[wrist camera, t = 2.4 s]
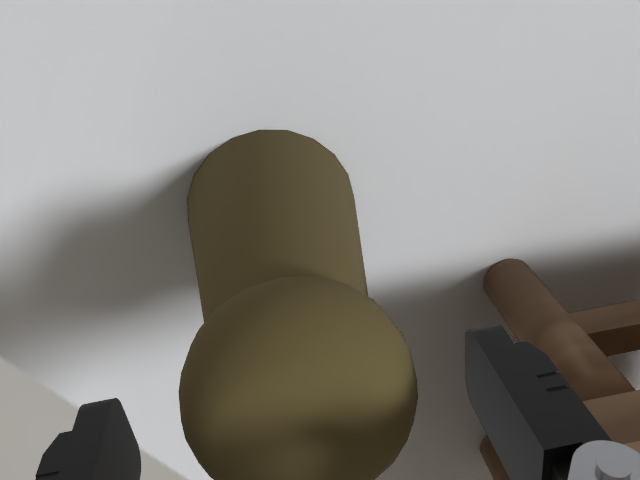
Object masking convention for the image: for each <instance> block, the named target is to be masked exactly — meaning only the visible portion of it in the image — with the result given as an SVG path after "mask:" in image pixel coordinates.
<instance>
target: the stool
mask: <svg viewBox="0 0 640 480" xmlns="http://www.w3.org/2000/svg"><path fill="white" fill-rule="evenodd" d="M484 290H485V292H486V293H487V295H488V296H489V298H490V299H491V301H492V302H493V304H494V305H495V306H496V308H497V309H498V311H499V312H500V314H501V315H502V317H503V318H504V319H505V321H506V322H507V324H508V325H509V327H510V328H511V330H512V331H513V332H514V334H515V335H516V337H517V338H518V340H519V341H520V342H525V341H527V342H529V343H530V344H532V345H533V346H535V347H536V348H538V349H539V350H541V351H542V352H544V353H545V354H547V356H548V357H549V358H550V360H551V361H552V362H553V364H554V365H555V366H556V368H557V369H558V370H559V373H560V374H562V375H563V377H564V378H565V379H566V381H567V382H568V383H569V386H570V388H572V389H573V390H574V391H575V393H576V394H577V395H578V397H579V398H580V399H581V401H582V402H583V403H584V404H585V406H586V407H587V408H588V410H589V411H590V412H591V414H592V415H593V416H594V418H595V419H596V420H597V422H598V423H599V424H600V426H601V427H602V428H603V430H604V431H605V432H606V434H607V435H608V436H609V437H610V439H611V440H612V441H613V442H617V443H620V444H623V445H625V446H628V447H630V448H632V449H633V450H635V451H637V452H638V453H639V454H640V390H637V391H636V390H635V389H634V388H633V387H632V386H631V384H630V383H629V382H628V381H627V380H626V379H625V377H624V376H623V375H622V374H621V373H620V372H619V371H618V369H617V368H616V367H615V366H614V365H613V364H612V362H611V361H610V360H609V359H608V358H607V357H606V356H609V355H614V354H619V353H625V352H630V351H635V350H640V300H635V301H630V302H624V303H619V304H614V305H609V306H603V307H598V308H593V309H588V310H583V311H577V312H572V313H568V312H567V311H566V309H565V308H564V307H563V306H562V305H561V304H560V302H559V301H558V300H557V299H556V298H555V297H554V296H553V294H552V293H551V292H550V291H549V290H548V289H547V287H546V286H545V285H544V284H543V283H542V282H541V281H540V279H539V278H538V277H537V276H536V275H535V274H534V272H533V271H532V270H531V269H530V268H529V267H528V266H527V264H526V263H524V262H523V261H521V260H518V259H507V260H503V261H501V262H499V263H497V264H495V265H494V266H493V267H492V268H491V269H490V270H489V271H488V272H487V274H486V276H485V278H484ZM480 451H481V454H482V456H483V458H484V460H485V462H486V464H487V466H488V468H489V471H490V473H491V475H492V477H493V479H494V480H510V478H509V476H508V474H507V472H506V470H505V468H504V466H503V464H502V462H501V460H500V458H499V457H498V455H497V453H496V451H495V449H494V447H493V445H492V443H491V441H490V439H489V437H488V436H487V437H486V438H485V439H484V440H483V441H482V443H481V446H480Z"/></svg>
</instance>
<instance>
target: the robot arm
mask: <svg viewBox="0 0 640 480" xmlns="http://www.w3.org/2000/svg"><path fill="white" fill-rule="evenodd" d="M465 379H466V387H467V392H468V395H469V399H470V402H471V404H472V406H473V408H474V410H475V412H476V414H477V416H478V418H479V420H480V422H481V424H482V426H483V428H484V430H485V431H486V433H487V435H488V437H489V439H490V441H491V443H492V445H493V447H494V449H495V451H496V453H497V455H498V457H499V458H500V460H501V462H502V464H503V466H504V468H505V470H506V472H507V474H508V476H509V478H510V480H640V454H639V453H638V452H637V451H635V450H633V449H632V448H630V447H628V446H625V445H623V444H620V443H617V442H613V441H612V440H611V439H610V437H609V436H608V435H607V434H606V432H605V431H604V430H603V428H602V427H601V426H600V424H599V423H598V422H597V420H596V419H595V418H594V416H593V415H592V414H591V412H590V411H589V410H588V408H587V407H586V406H585V404H584V403H583V402H582V401H581V399H580V398H579V397H578V395H577V394H576V393H575V391H574V390H573V389H572V388H570V386H569V383H568V382H567V381H566V379H565V378H564V377H563V375H562V374H560V373H559V370H558V369H557V368H556V366H555V365H554V364H553V362H552V361H551V360H550V358H549V357H548V356H547V354H545V353H544V352H542V351H541V350H539V349H538V348H536V347H535V346H533V345H532V344H530V343H529V342H527V341H525V342H520V343H515V344H514V343H513V342H512V340H511V339H510V337H509V336H508V335H507V333H506V332H505V330H504V329H503V327H502V326H501V325H499V324H494V325H489V326H484V327H479V328H474V329H469V330H467V331H466V333H465ZM140 474H141V457H140V451H139V447H138V444H137V441H136V439H135V436H134V434H133V431H132V429H131V426H130V424H129V421H128V419H127V416H126V414H125V412H124V409H123V407H122V404H121V402H120V401H119V400H118V399H117V398H114V399H108V400H103V401H98V402H93V403H88V404H83V405H82V406H81V407H80V408H79V411H78V414H77V417H76V420H75V424H74V427H73V430H72V431H69V432H64V433H60V434H59V435H58V436H57V437H56V439H55V440H54V441H53V443H52V444H51V445H50V446H49V448H48V449H47V450H46V451H45V453H44V454H43V456H42V459H41V462H40V465H39V468H38V470H37V474H36V480H140Z"/></svg>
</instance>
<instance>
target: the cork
mask: <svg viewBox="0 0 640 480" xmlns="http://www.w3.org/2000/svg"><path fill="white" fill-rule="evenodd" d="M187 206H188V223H189V229H190V235H191V242H192V248H193V254H194V261H195V267H196V274H197V280H198V286H199V293H200V299H201V305H202V312H203V318H204V324H203V325H202V326H201V328H200V329H199V330H198V332H197V334H196V336H195V338H194V340H193V342H192V344H191V347H190V349H189V352H188V355H187V358H186V361H185V364H184V367H183V369H182V372H181V379H180V387H179V401H180V413H181V422H182V426H183V431H184V435H185V439H186V441H187V443H188V444H189V446H190V448H191V450H192V452H193V453H194V455H195V457H196V459H197V460H198V462H199V464H200V465H201V466H202V467H203V469H204V470H205V471H206V472H207V473H208V475H209V476H210V477H211V478H212V479H214V480H375V479H376V478H377V477H378V476H379V475H380V474H381V473H382V472H384V471H385V470H386V469H387V468H388V467H389V466H390V465H391V464H392V463H393V462H394V461H395V459H396V457H397V456H398V454H399V453H400V451H401V449H402V448H403V446H404V444H405V443H406V441H407V439H408V436H409V433H410V431H411V428H412V425H413V421H414V416H415V411H416V405H417V400H418V393H417V379H416V375H415V370H414V366H413V362H412V358H411V353H410V351H409V348H408V346H407V344H406V342H405V340H404V337H403V335H402V334H401V332H400V331H399V330H398V329H397V327H396V326H395V325H394V323H393V322H392V321H391V319H390V318H389V317H388V315H387V314H386V313H385V311H384V310H383V309H382V308H381V307H380V306H379V305H378V304H377V303H376V302H375V301H374V300H372V299H371V298H369V297H368V291H367V284H366V277H365V270H364V263H363V256H362V249H361V242H360V235H359V228H358V221H357V214H356V207H355V200H354V195H353V191H352V187H351V184H350V180H349V176H348V174H347V172H346V171H345V169H344V168H343V166H342V165H341V163H340V162H339V160H338V159H337V157H336V156H335V154H333V153H332V152H331V151H329V150H328V149H327V148H325V147H324V146H323V145H321V144H320V143H318V142H317V141H316V140H314V139H313V138H310V137H307V136H304V135H301V134H297V133H294V132H291V131H288V130H258V131H254V132H251V133H248V134H244V135H241V136H238V137H234V138H232V139H230V140H229V141H228V142H226V143H225V144H223V145H222V146H220V147H219V148H217V149H216V150H214V151H213V152H212V153H210V154H209V156H208V157H207V158H206V160H205V161H204V162H203V164H202V165H201V166H200V168H199V169H198V170H197V172H196V173H195V174H194V177H193V181H192V184H191V187H190V191H189V194H188V197H187Z"/></svg>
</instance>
